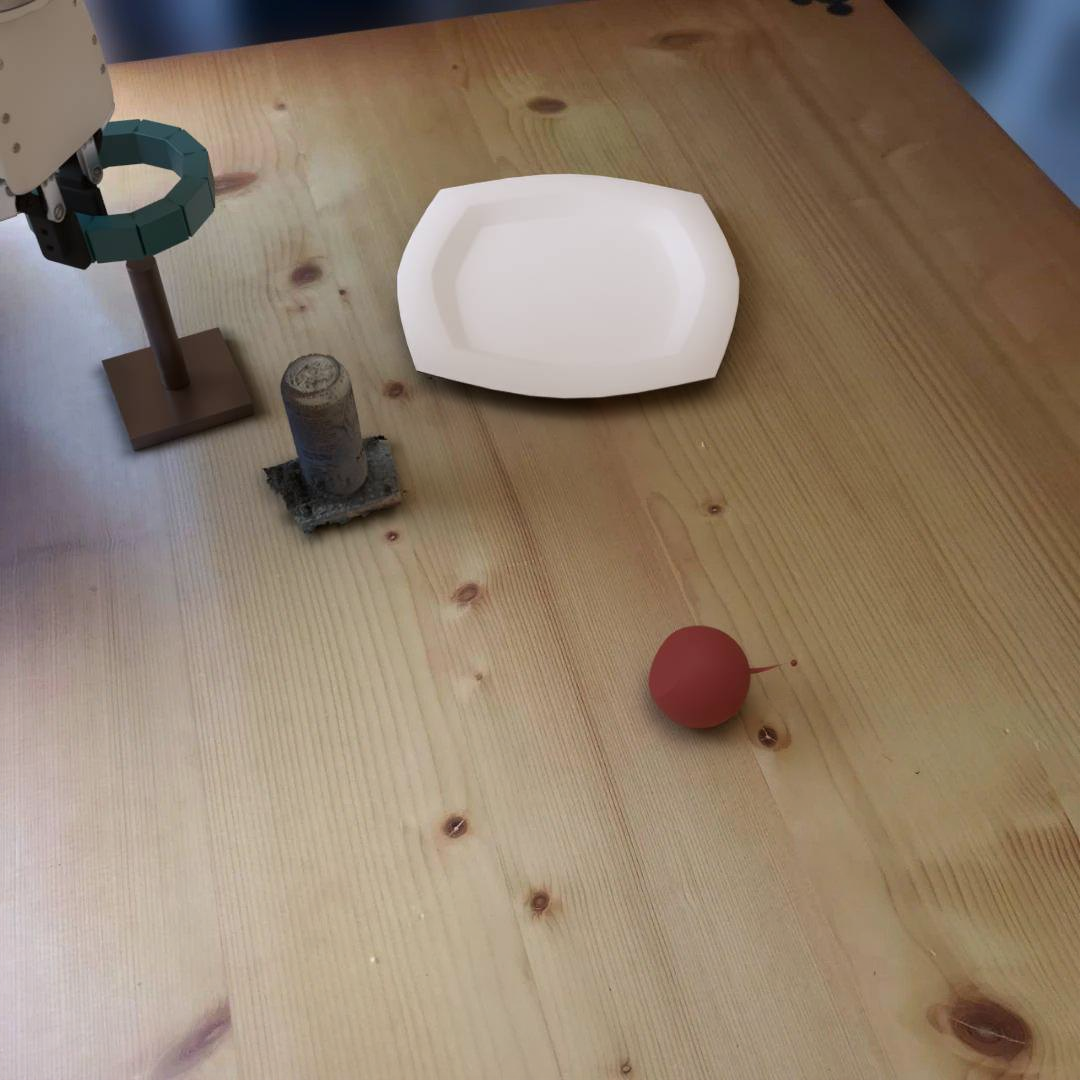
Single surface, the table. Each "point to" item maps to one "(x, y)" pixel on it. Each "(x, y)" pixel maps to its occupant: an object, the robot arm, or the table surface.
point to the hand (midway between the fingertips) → (79, 248)
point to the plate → (568, 287)
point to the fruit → (701, 676)
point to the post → (172, 372)
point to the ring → (159, 219)
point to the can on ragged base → (330, 449)
